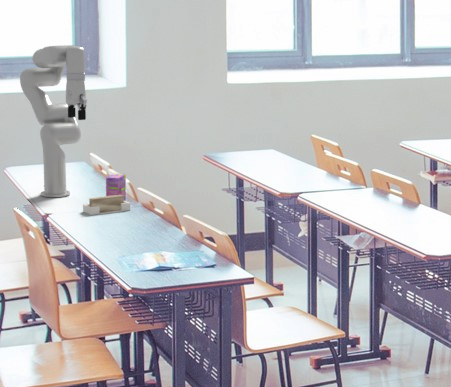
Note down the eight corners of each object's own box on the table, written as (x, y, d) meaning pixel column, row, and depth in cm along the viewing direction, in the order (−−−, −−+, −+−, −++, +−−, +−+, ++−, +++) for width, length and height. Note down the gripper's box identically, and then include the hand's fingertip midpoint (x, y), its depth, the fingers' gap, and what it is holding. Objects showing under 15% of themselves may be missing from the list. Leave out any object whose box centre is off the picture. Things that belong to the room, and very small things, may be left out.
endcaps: (83, 211, 413) (82, 204, 413) (122, 207, 423) (122, 199, 423) (91, 215, 407) (91, 208, 406) (131, 210, 416) (131, 203, 416)
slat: (89, 212, 413) (89, 198, 412) (120, 208, 420) (120, 194, 419) (92, 213, 411) (92, 199, 409) (123, 210, 418) (123, 195, 417)
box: (119, 205, 426) (118, 177, 424) (106, 204, 428) (105, 177, 425) (126, 200, 436) (125, 173, 434) (113, 200, 438) (113, 173, 435)
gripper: (58, 76, 423) (59, 117, 426) (76, 79, 409) (77, 121, 412) (75, 75, 427) (76, 115, 430) (93, 78, 413) (94, 120, 416)
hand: (76, 118), depth 421 cm, fingers open, 9 cm apart
